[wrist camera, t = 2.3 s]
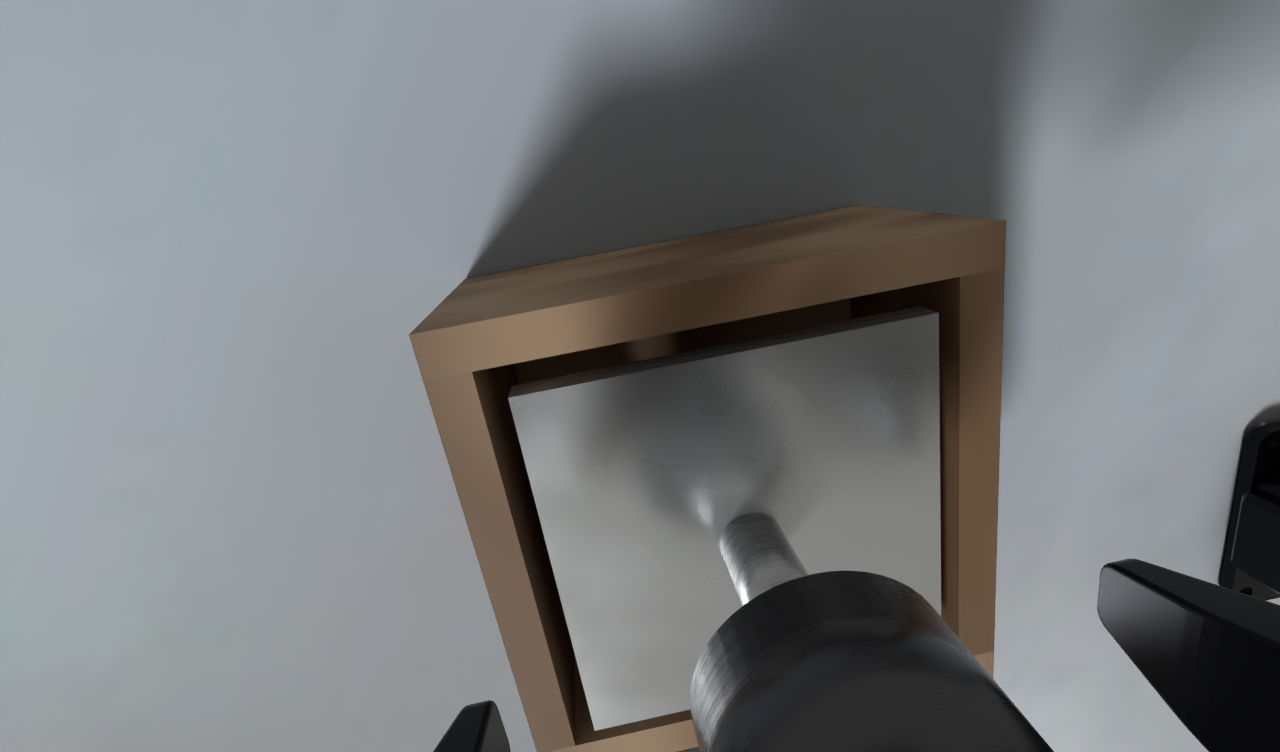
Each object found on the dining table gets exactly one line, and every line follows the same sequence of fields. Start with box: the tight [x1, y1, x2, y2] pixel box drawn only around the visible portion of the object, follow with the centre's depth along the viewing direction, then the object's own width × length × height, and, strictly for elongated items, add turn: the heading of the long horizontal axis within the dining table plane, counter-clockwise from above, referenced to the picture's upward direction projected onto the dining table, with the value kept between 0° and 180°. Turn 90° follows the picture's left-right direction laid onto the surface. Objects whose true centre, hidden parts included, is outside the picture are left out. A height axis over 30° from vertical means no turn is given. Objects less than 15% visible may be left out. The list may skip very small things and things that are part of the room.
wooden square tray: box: [409, 205, 1006, 752], centre depth 14 cm, size 10×10×6 cm
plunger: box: [508, 306, 1054, 752], centre depth 9 cm, size 7×7×7 cm
